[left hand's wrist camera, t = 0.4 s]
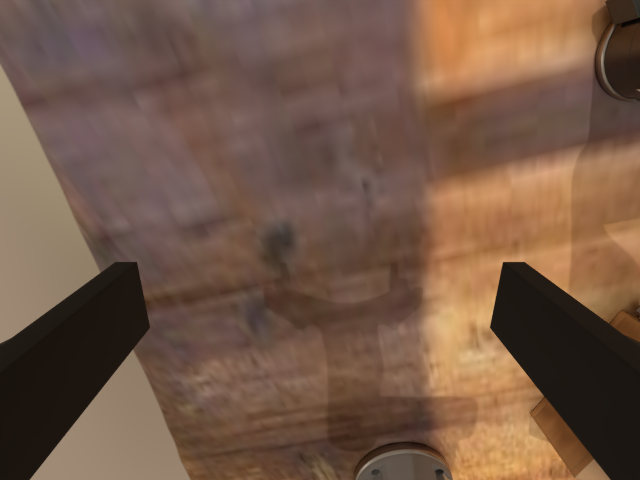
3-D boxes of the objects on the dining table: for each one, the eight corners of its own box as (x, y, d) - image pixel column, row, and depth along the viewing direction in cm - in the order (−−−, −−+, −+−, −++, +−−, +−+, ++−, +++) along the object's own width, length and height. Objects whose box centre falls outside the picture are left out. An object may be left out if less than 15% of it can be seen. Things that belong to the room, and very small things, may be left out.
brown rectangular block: (621, 310, 45) (696, 359, 36) (683, 339, 46) (770, 393, 37) (529, 413, 51) (574, 478, 42) (587, 436, 52) (642, 503, 43)
